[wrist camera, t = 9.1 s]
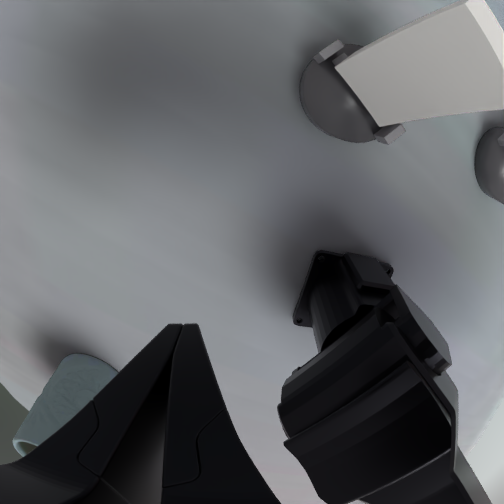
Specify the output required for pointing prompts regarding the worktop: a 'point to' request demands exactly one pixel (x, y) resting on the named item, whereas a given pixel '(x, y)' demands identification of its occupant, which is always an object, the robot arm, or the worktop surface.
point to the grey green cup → (62, 398)
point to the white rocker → (431, 66)
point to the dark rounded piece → (491, 163)
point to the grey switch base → (339, 101)
